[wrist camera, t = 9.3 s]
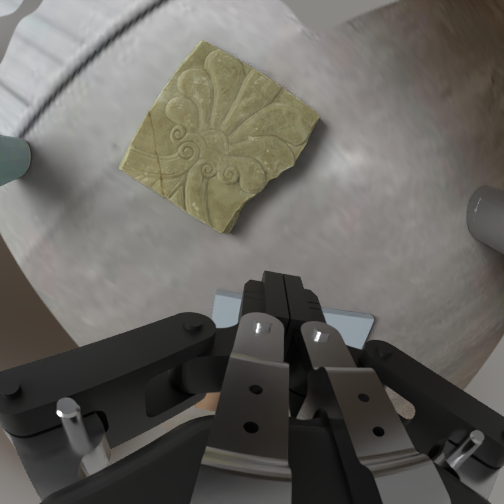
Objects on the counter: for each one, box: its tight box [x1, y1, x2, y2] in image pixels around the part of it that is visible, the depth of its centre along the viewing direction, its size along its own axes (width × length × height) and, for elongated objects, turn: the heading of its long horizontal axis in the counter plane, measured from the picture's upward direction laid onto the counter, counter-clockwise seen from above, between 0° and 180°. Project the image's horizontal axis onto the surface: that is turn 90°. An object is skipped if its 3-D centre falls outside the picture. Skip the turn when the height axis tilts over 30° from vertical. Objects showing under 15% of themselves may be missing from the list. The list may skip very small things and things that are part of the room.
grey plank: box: [212, 290, 374, 349], centre depth 45 cm, size 24×14×2 cm, turn 79°
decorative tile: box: [119, 40, 320, 234], centre depth 35 cm, size 19×20×4 cm
